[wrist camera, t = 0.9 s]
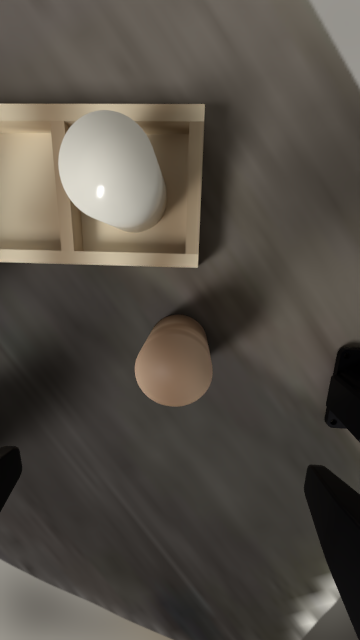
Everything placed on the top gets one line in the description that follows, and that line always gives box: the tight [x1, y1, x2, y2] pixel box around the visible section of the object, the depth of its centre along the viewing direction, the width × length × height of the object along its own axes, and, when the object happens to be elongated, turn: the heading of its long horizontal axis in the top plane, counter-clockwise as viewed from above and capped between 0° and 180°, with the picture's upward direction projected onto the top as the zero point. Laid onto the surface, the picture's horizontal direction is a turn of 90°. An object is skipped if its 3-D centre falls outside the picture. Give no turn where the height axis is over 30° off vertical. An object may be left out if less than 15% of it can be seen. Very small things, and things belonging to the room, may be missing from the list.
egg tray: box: [0, 104, 205, 268], centre depth 15 cm, size 16×9×2 cm, turn 89°
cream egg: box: [58, 110, 167, 233], centre depth 13 cm, size 4×4×5 cm
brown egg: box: [135, 315, 213, 406], centre depth 16 cm, size 4×4×5 cm
